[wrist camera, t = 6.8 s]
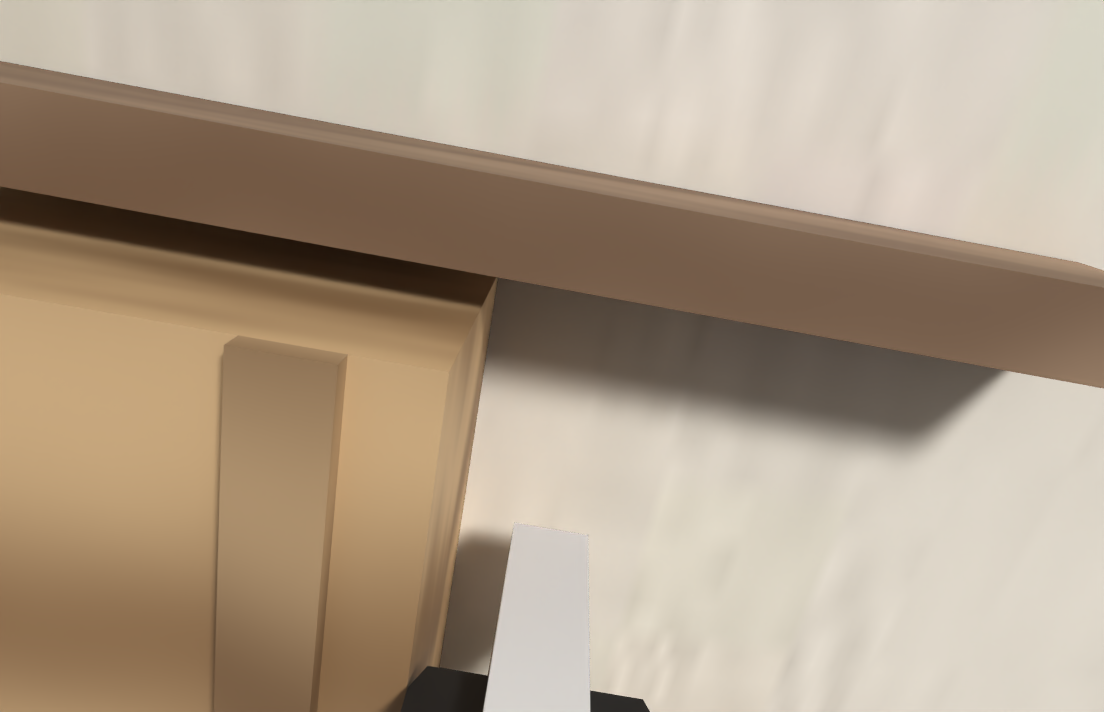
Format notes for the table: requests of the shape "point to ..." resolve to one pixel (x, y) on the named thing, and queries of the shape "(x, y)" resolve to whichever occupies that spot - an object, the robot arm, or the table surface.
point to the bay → (548, 225)
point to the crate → (225, 463)
